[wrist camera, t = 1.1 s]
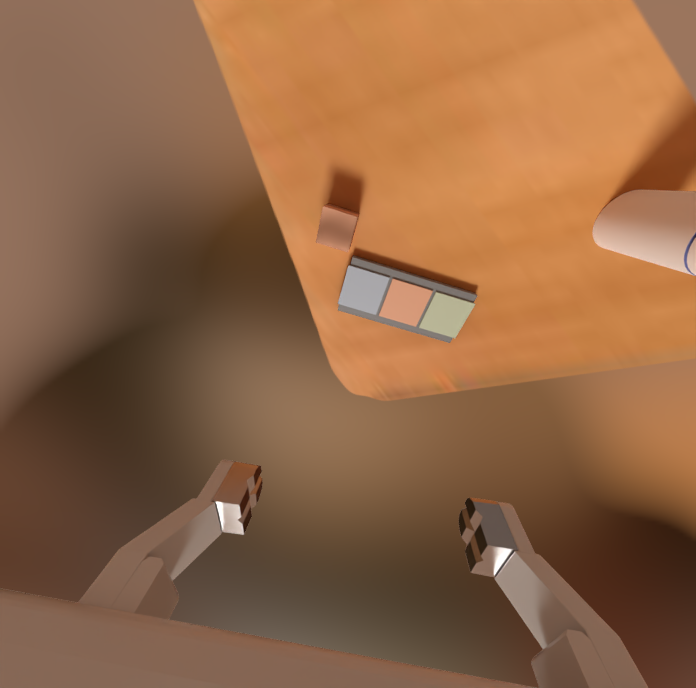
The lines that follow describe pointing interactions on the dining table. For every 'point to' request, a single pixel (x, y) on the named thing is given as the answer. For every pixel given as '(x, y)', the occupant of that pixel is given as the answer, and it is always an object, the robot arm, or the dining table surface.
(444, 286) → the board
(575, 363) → the dining table surface
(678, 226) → the cylindrical container
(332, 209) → the terracotta cube
